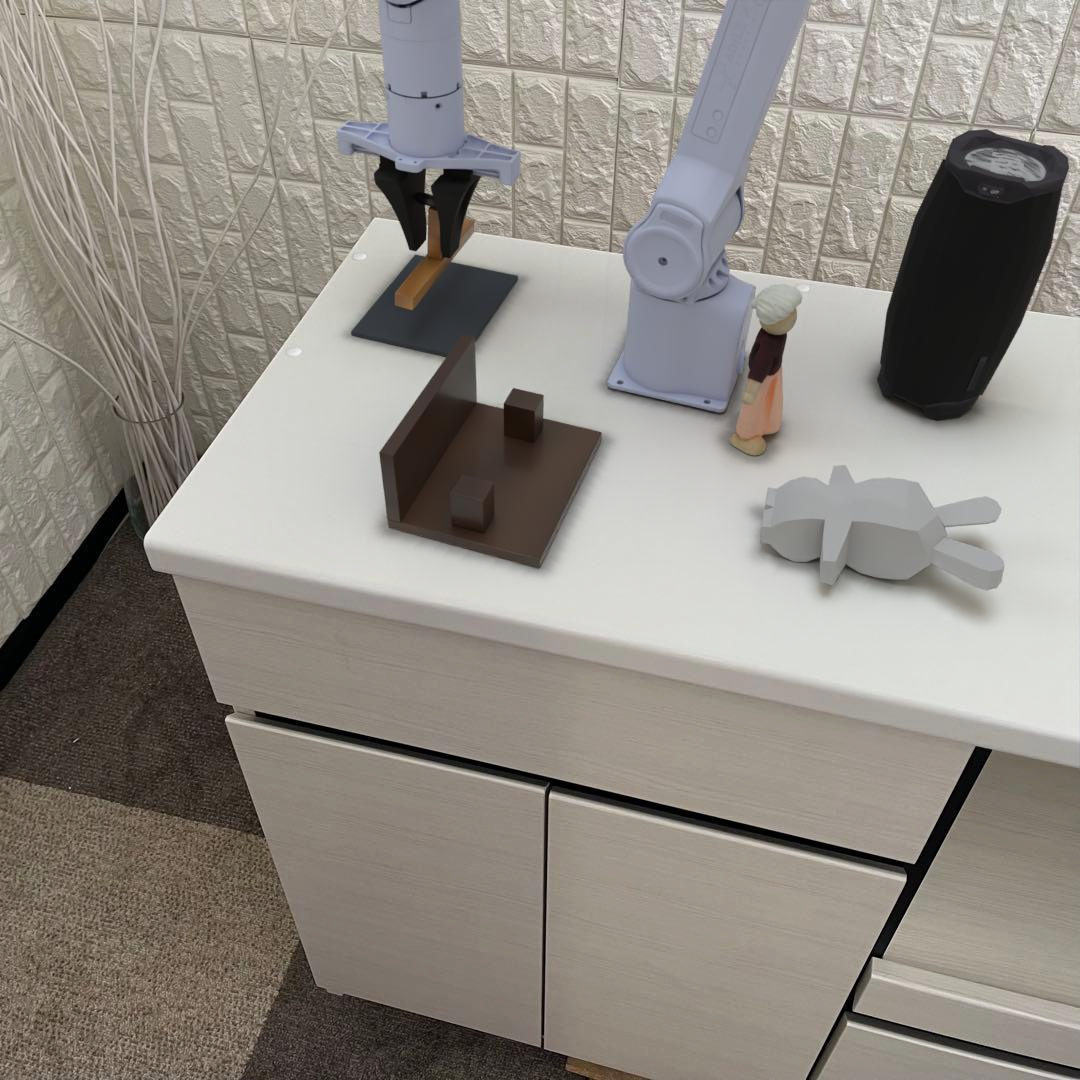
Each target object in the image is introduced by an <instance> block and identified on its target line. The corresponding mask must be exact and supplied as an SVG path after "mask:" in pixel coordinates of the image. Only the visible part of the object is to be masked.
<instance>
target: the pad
mask: <svg viewBox="0 0 1080 1080" xmlns="http://www.w3.org/2000/svg"><path fill="white" fill-rule="evenodd" d="M425 256H426V255H420V254H414V255H413V256H412V258H411V259H410V260H409V261H408V262H407V264H406V265H405V266H404V267H403V268H402V270H401V271H400V272H399V273H398V274H397V276H396V277H395V278H394V279H393V280H392V281H391V283H390V284H389V285H388V286H387V287H386V289H385V290H384V291H383V292H382V293H381V295H380V296H379V297H378V298H377V299H376V301H375V302H374V303H373V304H372V306H371V307H370V308H369V309H368V310H367V312H366V313H365V314H364V315H363V317H362V318H361V319H360V320H359V321H358V322H357V324H356V325H355V326H354V327H353V329H352V330H351V331H350V333H351V336H353V337H357V338H362V339H366V340H370V341H371V340H372V341H376V342H379V343H385V344H389V345H394V346H397V347H402V348H406V349H410V350H415V351H419V352H424V353H428V354H433V355H436V356H441V357H444V358H446V357H447V355H448V354H449V352H450V351H451V350H452V348H453V347H454V345H455V344H456V342H457V341H458V340H459V338H460V337H461V335H462V334H465V335H469V336H474V337H475V342H477V340H478V339H479V337H480V336H481V334H482V333H483V331H484V330H485V328H486V327H487V326H488V323H489V322H490V321H491V320H492V318H493V317H494V316H495V314H496V312H497V310H499V308H500V307H501V305H502V304H503V302H504V301H505V299H506V298H507V296H508V295H509V293H510V292H511V291H512V289H513V288H514V286H515V284H516V283H517V282H518V280H519V275H516V274H511V273H506V272H502V271H498V270H491V269H487V268H482V267H477V266H472V265H468V264H462V263H457V262H454V261H451V262H450V264H449V265H448V266H447V268H446V269H445V270H444V271H443V273H442V274H441V275H440V276H439V278H438V279H437V280H436V282H435V283H434V284H433V285H432V287H431V288H430V289H429V290H428V292H427V293H426V294H425V296H424V297H423V298H422V299H421V301H420V302H419V303H418V304H417V306H416V307H415V308H414V310H409V309H406V308H402V307H399V306H396V305H395V292H396V291H397V290H398V289H399V288H400V286H401V285H402V284H403V283H404V281H405V280H406V279H407V278H408V277H409V275H410V274H411V273H412V272H413V271H414V269H415V268H416V267H417V266H418V264H419V263H420V262H421V261H422V260H423V258H424V257H425Z"/></svg>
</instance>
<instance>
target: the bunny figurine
mask: <svg viewBox="0 0 1080 1080" xmlns="http://www.w3.org/2000/svg"><path fill="white" fill-rule="evenodd" d="M829 477H830V478H829V480H828V484H827V483H825V482H824V481H822V480H820V479H818V478H817V477H810V476H800V477H797V478H794V479H791V480H788V481H787V482H785V483H784V484H782V485H780V486H779V487H777V488H775V487H767V491H766V497H765V503H764V510H763V514H762V519H761V525H760V538H759V543H760V544H765V545H766V544H768V545H770V546H771V548H773V549H774V551H776V552H777V553H778V554H779V555H780V557H783V558H785V559H787V560H790V561H791V562H795V563H807V562H811V561H813V560H817V559H819V582H820V583H824V584H827V585H831V586H833V585H834V584H835V582H836V581H837V579H838V578H839V576H840V575H841V573H842V571H843V569H844V568H845V567H846V566H848V567H849V568H851V569H853V570H854V571H856V572H857V573H859V574H862V575H866V576H869V577H873V578H878V579H885V580H909V579H910V578H912V577H914V576H915V575H917V574H918V573H919V572H921V571H923V570H924V569H926V568H927V567H929V566H930V565H933V566H935V567H937V568H939V569H940V570H942V571H944V572H946V573H948V574H950V575H952V576H953V577H956V578H957V579H959V580H961V581H963V582H965V583H966V584H968V585H970V586H972V587H974V588H976V589H980V590H983V591H984V590H985V591H991V590H995V589H997V588H998V587H999V586H1000V584H1001V583H1002V580H1003V576H1004V570H1005V562H1004V560H1003V558H1002V557H1001V556H1000V555H998V554H996V553H994V552H992V551H990V550H986V549H983V548H981V547H976V546H974V545H971V544H967V543H964V542H960V541H957V540H954V539H951V538H948V533H947V529H946V528H955V527H965V526H966V527H967V526H968V527H969V526H977V525H989V524H993V523H996V522H997V520H998V519H999V518H1000V515H1001V514H1002V506H1001V505H1000V503H999V502H998V501H997V500H996V499H993V498H991V497H989V496H980V497H979V496H977V497H972V498H968V499H965V500H959V501H955V502H953V503H952V502H951V503H948V504H944V505H940V506H936V507H934V505H933V504H932V502H931V501H930V499H929V497H928V495H927V494H926V492H925V491H924V489H923V487H922V486H921V484H920V482H918V481H915V480H911V479H910V480H909V479H905V478H898V477H874V478H869V479H866V480H862V481H860V482H855V480H854V478H853V477H852V475H851V473H850V471H849V468H848V467H847V465H846V464H842V465H833V466H832V470H831V474H830V476H829Z"/></svg>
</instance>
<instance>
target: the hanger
mask: <svg viewBox="0 0 1080 1080" xmlns="http://www.w3.org/2000/svg"><path fill="white" fill-rule="evenodd" d="M415 200H416V202H418V203H420V204H424V205H425V206H428V209H427V250H426V251H427V254H426V255H424V256H425V257H424V258H423V260H422V261H421V262H420V263H419V264H418V266H417V267H416V268H415V269H414V271H413V272H412V273H411V274H410V275H409V277H408V278H407V279H406V280H405V281H404V283H403V284H402V285H401V286H400V288H399V289H398V290H397V291H396V292H395V305H396V306H399V307H402V308H406V309H409V310H414V308H415V307H416V306H417V304H418V303H419V302H420V301H421V299H422V298H423V297H424V296H425V294H426V293H427V292H428V290H429V289H430V288H431V287H432V285H433V284H434V283H435V282H436V280H437V279H438V278H439V276H440V275H441V274H442V273H443V271H444V270H445V269H446V268H447V266H448V265H449V264H450V262H453V261H454V259H455V258H456V256H457V255H458V254H459V252H460V251H461V250H462V248H463V247H464V246H465V245H466V243H467V242H468V241H469V240H470V239H471V237H472V236H473V235H474V233H475V220H473V219H469V218H466V217H465V218H464V222H463V226H462V231H461V237H460V244H459V248H458V249H457V251H456V252H455V253H454V254H453V256H452V257H451V258H445V257H442V253H441V248H440V225H439V218H438V212H437V207H436V204H435V200H434V197H433V194H432V193H428V192H425V193H424V192H418V193H416V195H415Z"/></svg>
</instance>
